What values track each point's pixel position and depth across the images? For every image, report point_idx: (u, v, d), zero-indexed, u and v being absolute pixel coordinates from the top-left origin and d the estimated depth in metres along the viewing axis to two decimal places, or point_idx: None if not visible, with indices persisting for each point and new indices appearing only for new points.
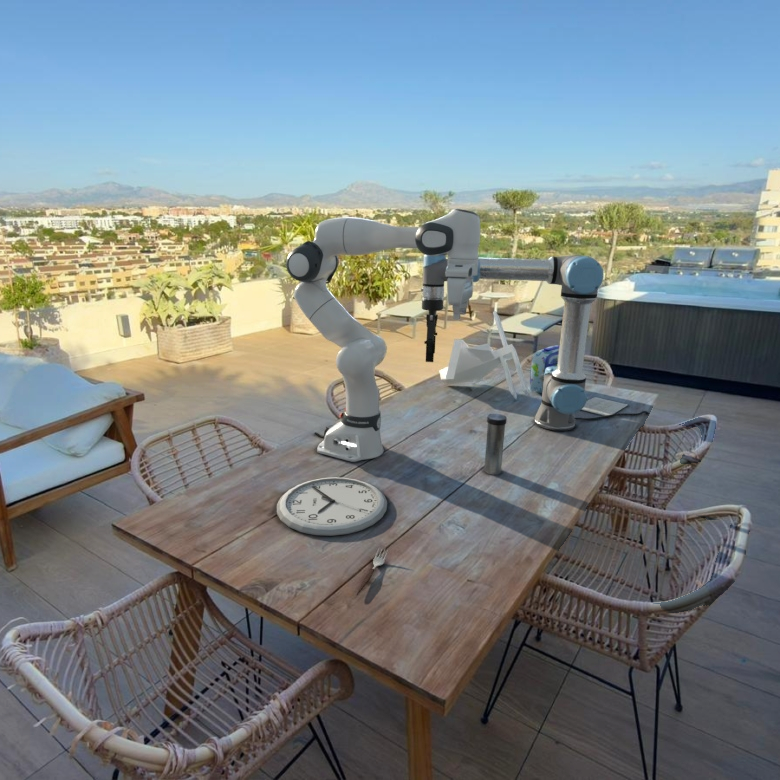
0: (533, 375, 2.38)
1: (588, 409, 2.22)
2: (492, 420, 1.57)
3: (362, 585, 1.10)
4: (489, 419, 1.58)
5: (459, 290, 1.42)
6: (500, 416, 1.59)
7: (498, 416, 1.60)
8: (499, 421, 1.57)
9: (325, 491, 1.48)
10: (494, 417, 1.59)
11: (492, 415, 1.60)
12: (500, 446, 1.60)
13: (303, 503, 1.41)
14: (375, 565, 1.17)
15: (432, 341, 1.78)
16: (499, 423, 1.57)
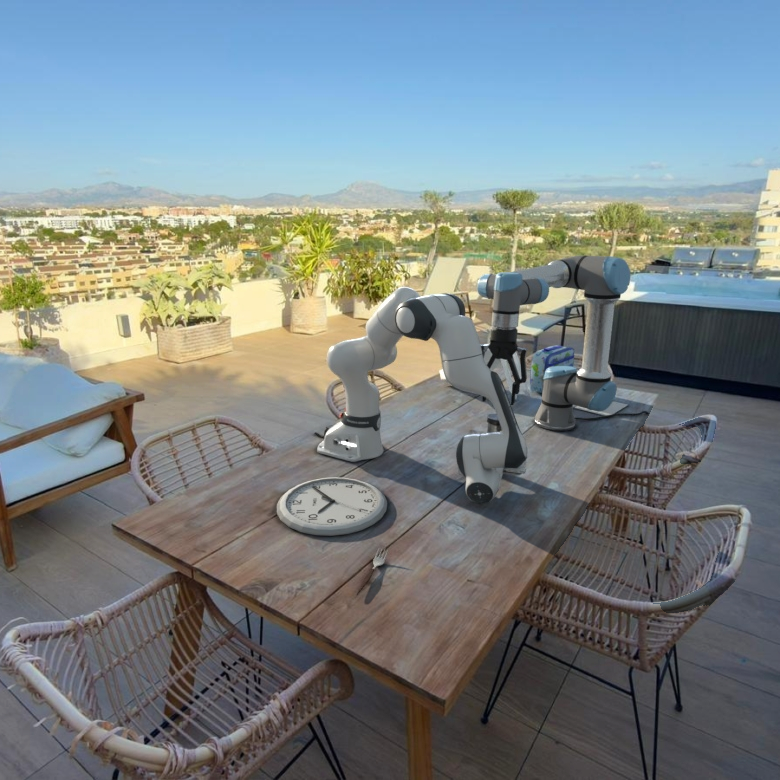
0: (533, 375, 2.38)
1: (588, 409, 2.22)
2: (492, 420, 1.57)
3: (362, 585, 1.10)
4: (489, 419, 1.58)
5: None
6: None
7: None
8: None
9: (325, 491, 1.48)
10: (494, 417, 1.59)
11: (492, 415, 1.60)
12: None
13: (303, 503, 1.41)
14: (375, 565, 1.17)
15: None
16: (499, 423, 1.57)
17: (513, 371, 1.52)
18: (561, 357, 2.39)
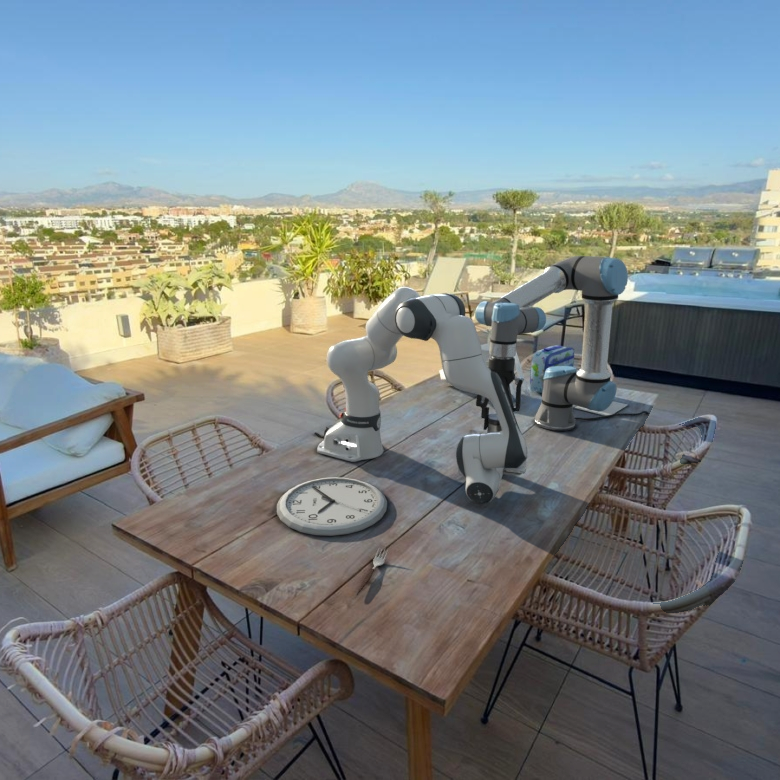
0: (533, 375, 2.38)
1: (588, 409, 2.22)
2: (492, 420, 1.57)
3: (362, 585, 1.10)
4: (489, 419, 1.58)
5: None
6: None
7: None
8: None
9: (325, 491, 1.48)
10: (494, 417, 1.59)
11: (492, 415, 1.60)
12: None
13: (303, 503, 1.41)
14: (375, 565, 1.17)
15: None
16: (499, 423, 1.57)
17: None
18: (561, 357, 2.39)
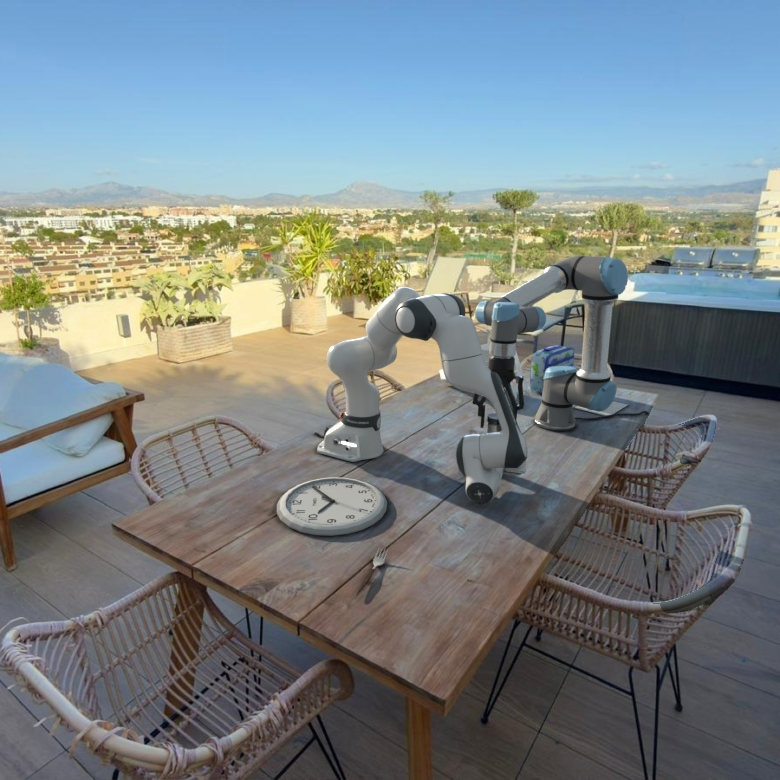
0: (533, 375, 2.38)
1: (588, 409, 2.22)
2: None
3: (362, 585, 1.10)
4: None
5: None
6: None
7: (496, 415, 1.60)
8: None
9: (325, 491, 1.48)
10: (497, 417, 1.58)
11: (493, 417, 1.58)
12: None
13: (303, 503, 1.41)
14: (375, 565, 1.17)
15: None
16: None
17: (511, 398, 1.55)
18: (561, 357, 2.39)
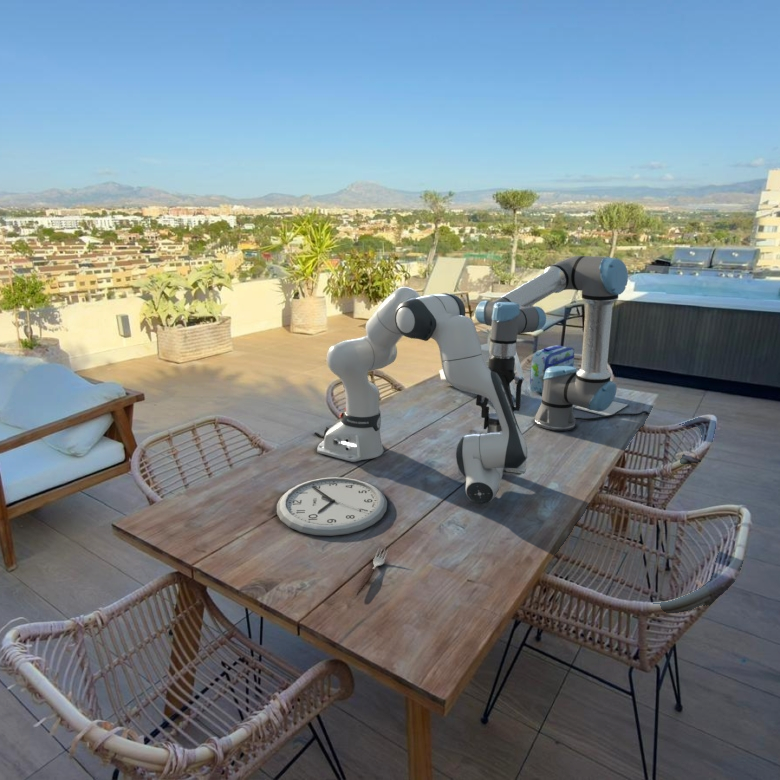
0: (533, 375, 2.38)
1: (588, 409, 2.22)
2: None
3: (362, 585, 1.10)
4: None
5: None
6: None
7: (496, 415, 1.60)
8: None
9: (325, 491, 1.48)
10: (497, 417, 1.58)
11: (493, 417, 1.58)
12: None
13: (303, 503, 1.41)
14: (375, 565, 1.17)
15: None
16: None
17: None
18: (561, 357, 2.39)
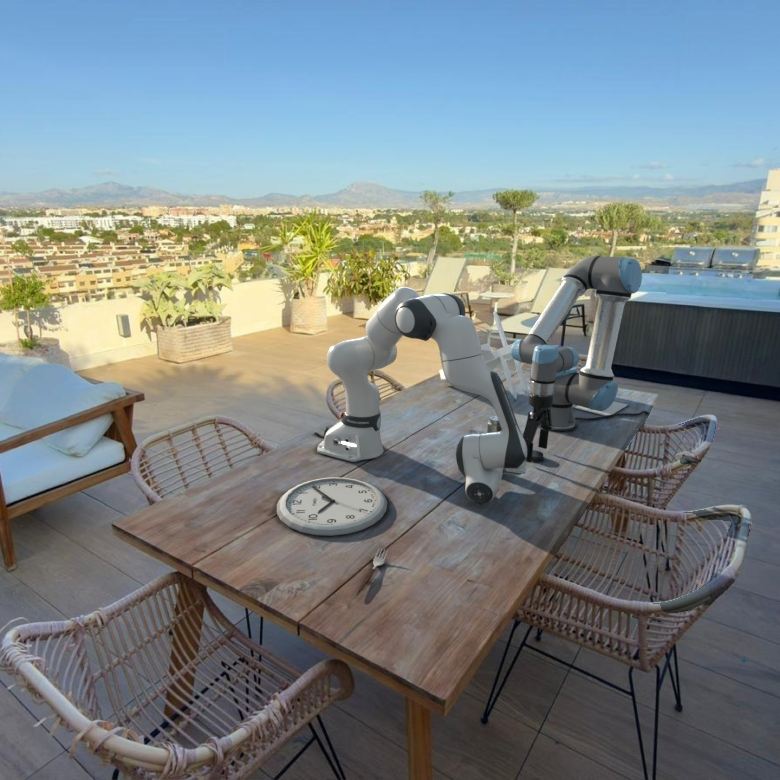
0: None
1: (588, 409, 2.22)
2: None
3: (362, 585, 1.10)
4: None
5: None
6: None
7: (532, 453, 1.74)
8: None
9: (325, 491, 1.48)
10: (536, 453, 1.74)
11: (536, 455, 1.72)
12: None
13: (303, 503, 1.41)
14: (375, 565, 1.17)
15: (527, 442, 1.64)
16: None
17: (547, 423, 1.75)
18: None
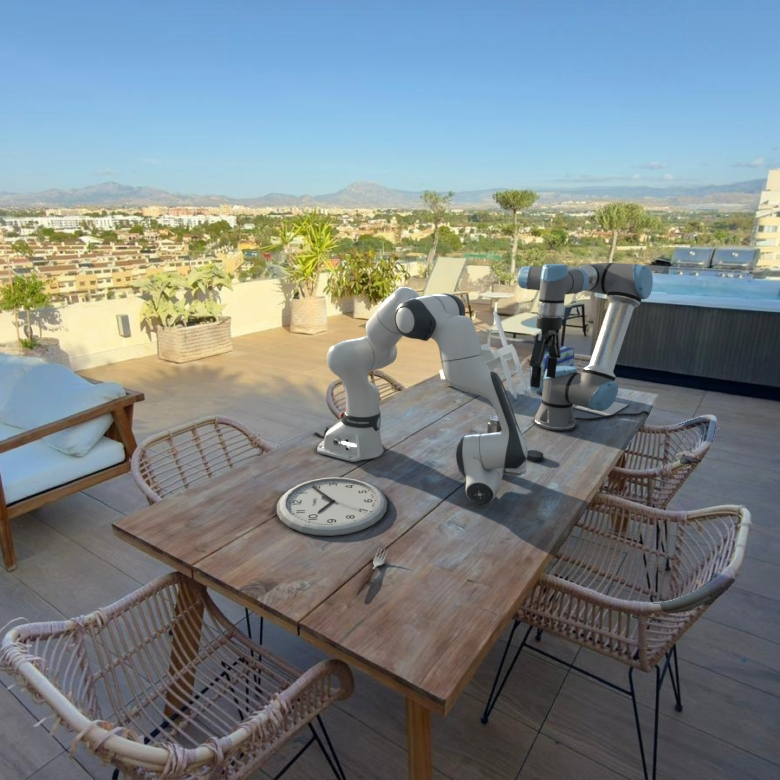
0: None
1: (588, 409, 2.22)
2: None
3: (362, 585, 1.10)
4: None
5: None
6: (530, 452, 1.74)
7: (532, 453, 1.74)
8: None
9: (325, 491, 1.48)
10: (536, 453, 1.74)
11: (536, 455, 1.72)
12: None
13: (303, 503, 1.41)
14: (375, 565, 1.17)
15: (536, 364, 1.56)
16: None
17: (556, 349, 1.68)
18: (561, 357, 2.39)
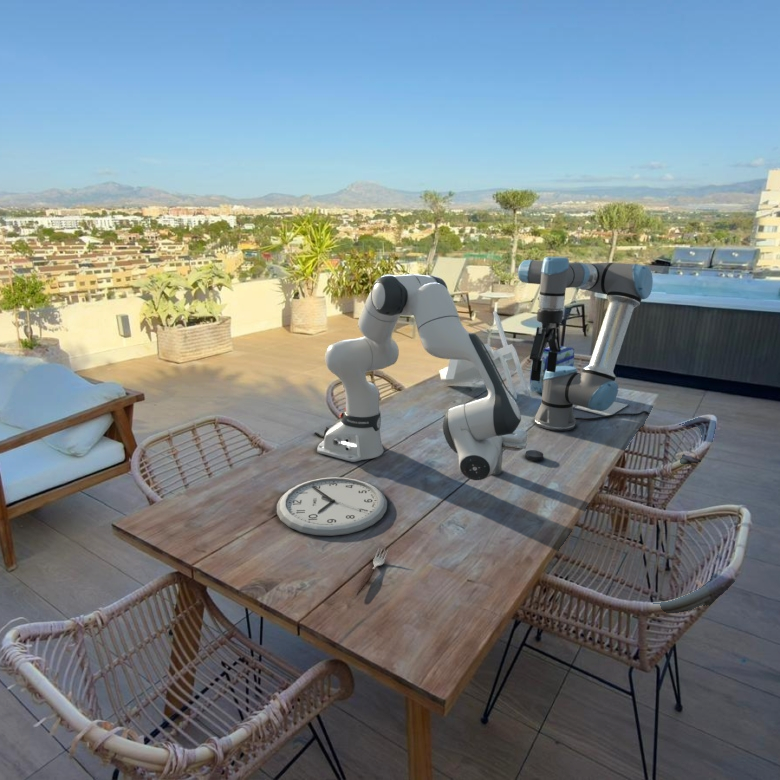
0: None
1: (588, 409, 2.22)
2: None
3: (362, 585, 1.10)
4: None
5: None
6: (530, 452, 1.74)
7: (532, 453, 1.74)
8: None
9: (325, 491, 1.48)
10: (536, 453, 1.74)
11: (536, 455, 1.72)
12: None
13: (303, 503, 1.41)
14: (375, 565, 1.17)
15: (536, 357, 1.56)
16: None
17: (556, 343, 1.67)
18: (561, 357, 2.39)
